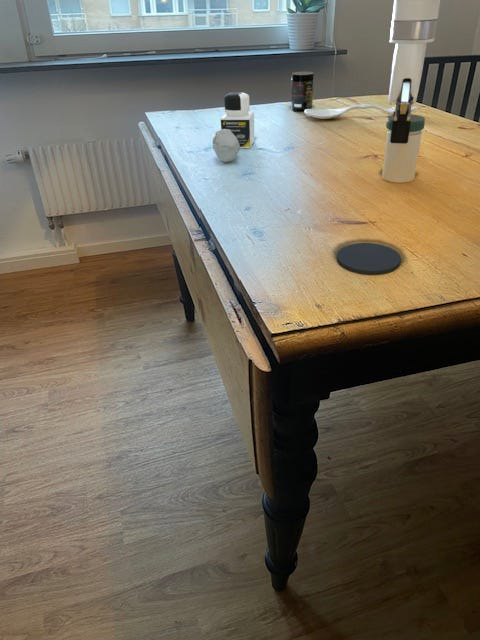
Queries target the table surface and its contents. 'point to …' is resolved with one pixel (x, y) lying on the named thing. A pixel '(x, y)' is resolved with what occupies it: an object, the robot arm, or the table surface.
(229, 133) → the grey rock
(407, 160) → the jar
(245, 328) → the table surface
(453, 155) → the table surface
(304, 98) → the supplement container
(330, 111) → the spoon
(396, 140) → the robot arm
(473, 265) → the table surface
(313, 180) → the table surface
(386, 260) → the coaster
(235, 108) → the medicine bottle
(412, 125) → the jar lid
